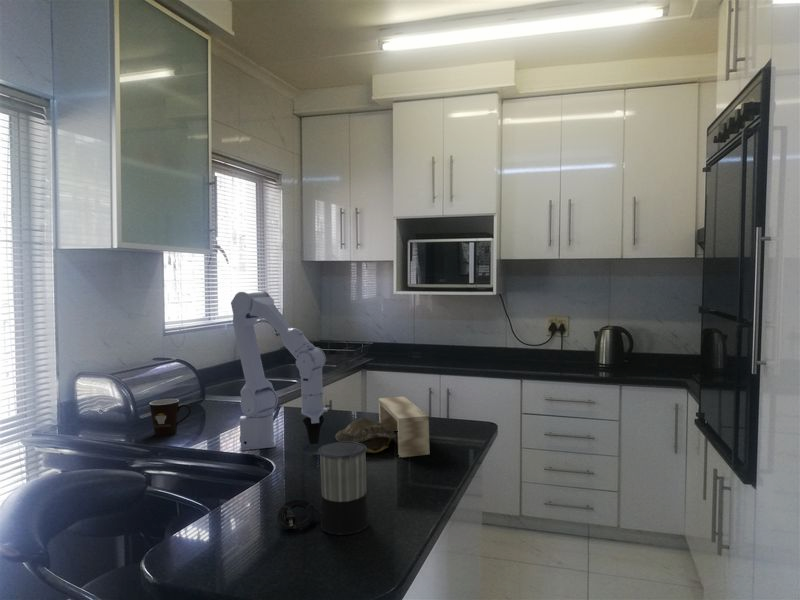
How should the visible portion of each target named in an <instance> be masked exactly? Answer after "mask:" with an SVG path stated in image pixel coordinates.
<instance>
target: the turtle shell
mask: <svg viewBox="0 0 800 600" xmlns="http://www.w3.org/2000/svg"><path fill="white" fill-rule="evenodd" d="M334 438H335V439H336V440H337V442H345V441H347V442H348V441H349V442H357V443H361V444H364V445H365V446H366V447H367V450H366V451H365V453H370V454H377V453H380V452H382V451H384V450H385V449H387V448H390V446H389V444H390V443H391V442H392V440H394V439H395V438H397V433H396V432H393V431H392V430H391V429H390V428H389V427H388V426H386V425H384V424H382V423H380V422H379V421H377V420H375V419H372V418H368V417H360V418H357V419H354V421H352V422H350V423H349V424H347V425H346V426H345V428H344V429H341V430H338V431H337V433H335V435H334Z"/></svg>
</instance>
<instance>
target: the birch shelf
mask: <svg viewBox="0 0 800 600" xmlns="http://www.w3.org/2000/svg"><path fill="white" fill-rule="evenodd" d="M429 417H430V416H429V415H428V414H426V412H424V411H423V410H422V409H420V408H419V407H418V406H417V405H415V404H414V403H413V401H410V400H409V399H408V398H407V397H405V396H391V397H380V398H378V418H379V420H378V422H380V423H382V424H384V425H386V426H388V427H389V428H390V429H391V430H392V431H393V430H397V431H398V432H397V456H398V455H399V456H398V457H399V458H400V457H401V458H408V457H417V456H419V457H420V456H425V455H426V456H427V455H431V454H430V453H431V452H430V423H429Z"/></svg>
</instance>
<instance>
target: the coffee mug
mask: <svg viewBox="0 0 800 600" xmlns="http://www.w3.org/2000/svg"><path fill="white" fill-rule="evenodd" d="M184 407H185V408H187V409H188V413H187V415H186V416H185V417H183V418H182V419H181V420H179V421H178V419H179V412H180V410H181V408H184ZM149 409H150V410H149V411H150V415H151V416H150V417H151V421H152V427H153V433H154V436H157V437H167V436H172V435H175V434H176V433H178V432H177V431H178V425H179V424H180V423H182V422H183V421H185V420H186V419H187V418H189V416H190V414H191V413H192V409H191V407H190V406H189V405H187V404H182V405H180V399H178V398H164V399H157V400H153V401H150V402H149Z"/></svg>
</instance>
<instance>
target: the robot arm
mask: <svg viewBox="0 0 800 600" xmlns="http://www.w3.org/2000/svg"><path fill="white" fill-rule="evenodd" d="M230 305H231V309H232V314H233V315H232V325H233V331H234V335H235V340H236V344H237V348H238V352H239V353H238V354H239V357H240V362H241V368H242V372H243V375H244V380H245V384H244V385H243V387H242V388H241V389H240V392H239V393H240V410H241V411H242V413H243V414H244V415H240V416H239V432H240V433H239V434H240V435H239V443H240V451H250V449H251V450H258V449H270V448H271V449H272V448H276V447H277V444H276V443H277V442H276V438H275V434H274V432H275V431H274V412H275V408H276V407H277V405H278V403H279V396H278V394H277V392H276V391H275V389H274V386H273V383H272V382H271V381H269V380H268V379H267V378H266V375H265V371H264V367H263V362H262V357H261V353H260V348H259V345H258V340H257V336H256V331H255V324H256V323H257V321H258V320H259V319H260V318H264V319H265V320H266V322H267V323H269V324H270V325H271V327H272V328H274V330H275V331H276V332H277V333H279V334H280V336H281V343H282V344H283V346H285V348H286V349H287V350H288V351H289V353H290V354H291V355H292V356H293V357H294V358H295V359H296V360H295V366H296V368H297V369H298V371H299V376H300V388H301V390H300V393H301V409H300V410H301V415H303V416H302V418H301V419H302V422H303V424H304V426H305V429H306V433H307V438H308V442H309V445H317V444H319V440H320V434H321V433H320V432H321V429H322V425H323V423H324V422H325V419H324V415H323V414H324V413H328V411H329V409H328V408H327V407H324V386H323V383H324V382H323V368H324V366H325V365H326V362H327V361H326V360H327V356H326V354H325V352H324V350H323V349H322V348H320V347H318V346H317V347H316V346H315V345H314V344H313V343H311V342H310V341H309V339H307V337H306V336H305V335H304V331H303V330H302V329H298V328H297V327H296V328H295V327H291V325H290V324H289V322H288V321H287V320H286V318H285V317H284V316H283V314H282V313H281V312H280V310H279V309H278V308H277V307H276V305H275V299H274V298H273V297H271V296H270V294H269V293H268V292H267V291H266V290H259V291H257V290H256V291H238V292H236V294H234V297H233V299H232V300H231V302H230Z"/></svg>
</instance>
